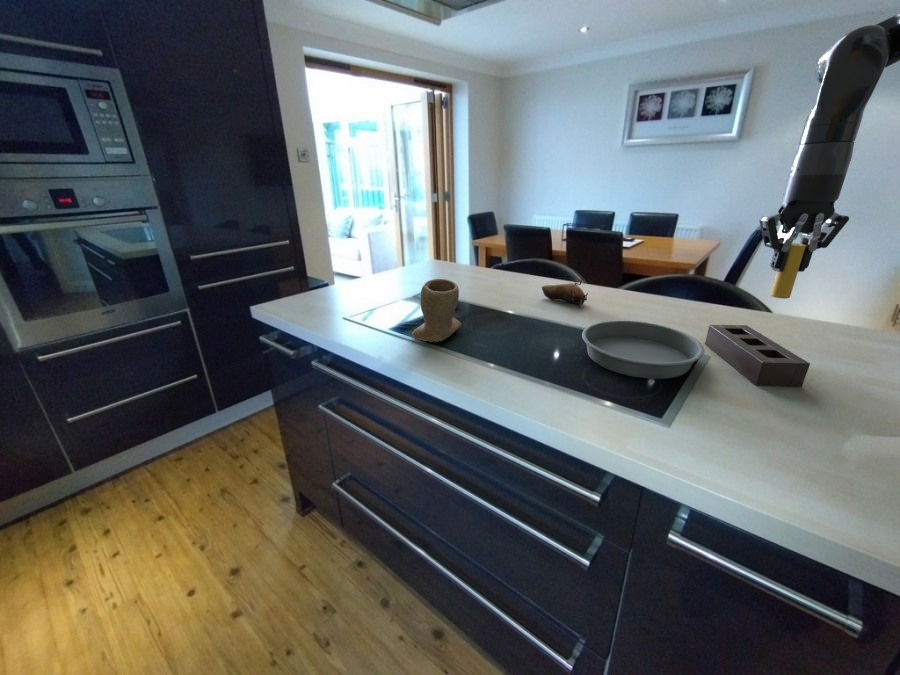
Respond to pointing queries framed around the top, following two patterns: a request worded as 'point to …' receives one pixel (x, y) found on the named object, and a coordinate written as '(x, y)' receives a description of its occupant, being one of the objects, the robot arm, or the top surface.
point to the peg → (788, 272)
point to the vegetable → (565, 292)
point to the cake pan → (641, 349)
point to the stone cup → (438, 310)
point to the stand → (756, 356)
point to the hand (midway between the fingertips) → (787, 270)
